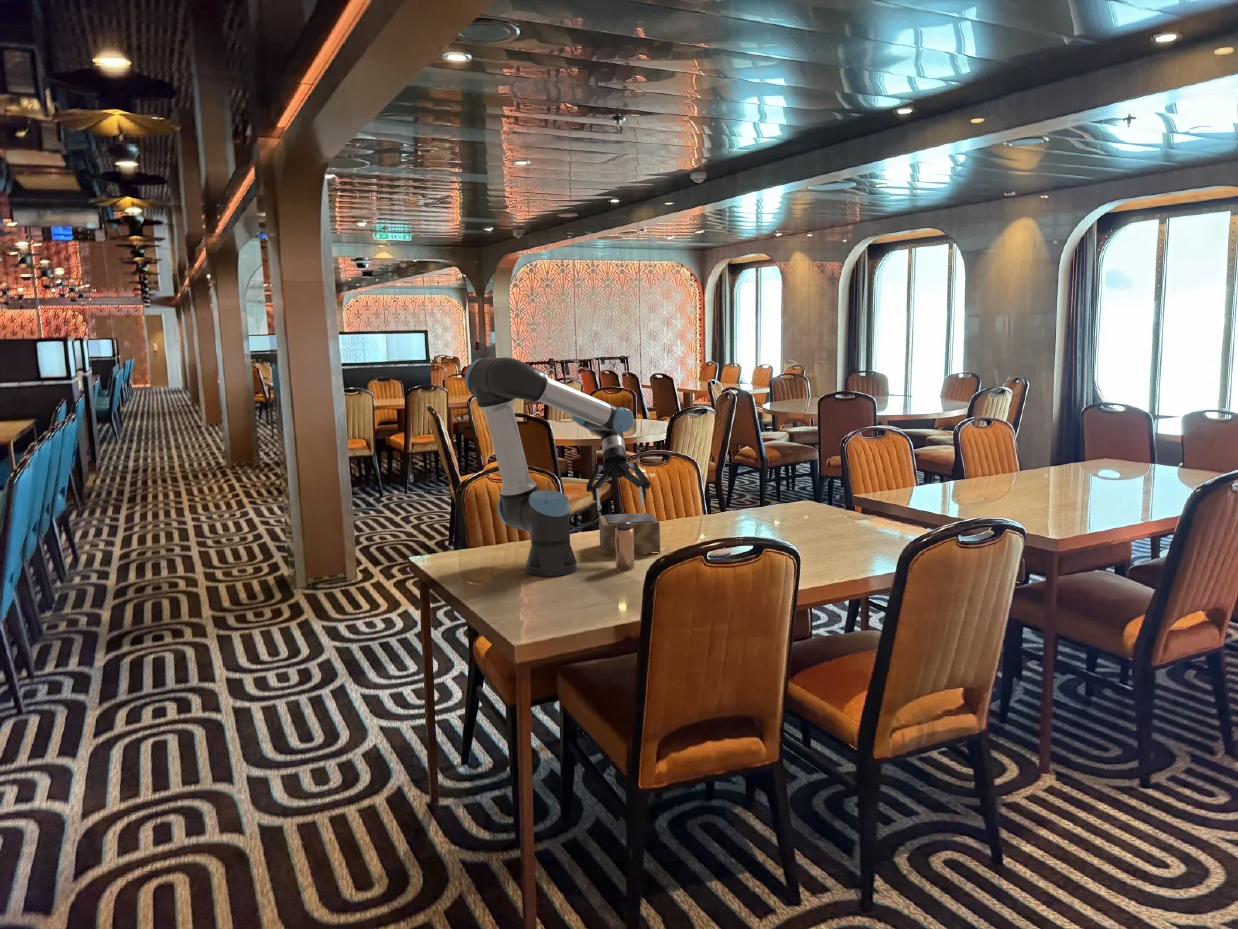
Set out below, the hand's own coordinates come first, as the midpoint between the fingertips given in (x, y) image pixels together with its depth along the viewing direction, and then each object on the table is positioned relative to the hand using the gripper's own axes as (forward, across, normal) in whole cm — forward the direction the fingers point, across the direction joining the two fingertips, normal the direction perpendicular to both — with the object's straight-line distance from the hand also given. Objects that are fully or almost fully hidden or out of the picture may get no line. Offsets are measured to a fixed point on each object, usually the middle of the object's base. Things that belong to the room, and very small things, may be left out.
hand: (620, 507), depth 269 cm
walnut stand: (+3, -4, -21) cm, 21 cm away
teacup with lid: (+34, -24, +10) cm, 43 cm away
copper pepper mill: (+20, 0, -4) cm, 20 cm away
